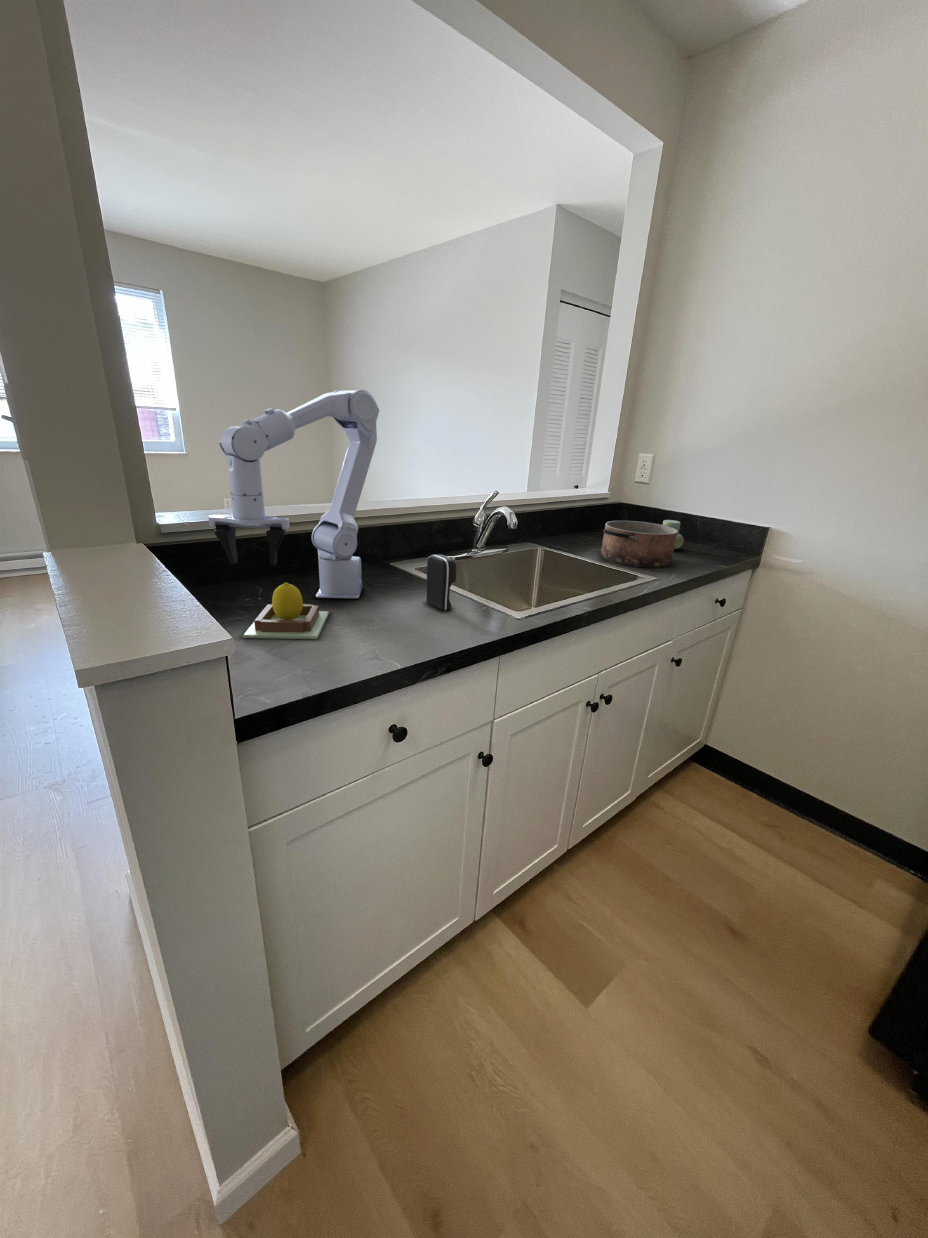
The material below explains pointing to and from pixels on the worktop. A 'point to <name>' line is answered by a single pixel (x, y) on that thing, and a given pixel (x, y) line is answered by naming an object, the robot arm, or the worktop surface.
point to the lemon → (287, 602)
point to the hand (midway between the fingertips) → (254, 563)
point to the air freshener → (679, 538)
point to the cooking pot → (638, 543)
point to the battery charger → (440, 580)
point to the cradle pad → (288, 624)
